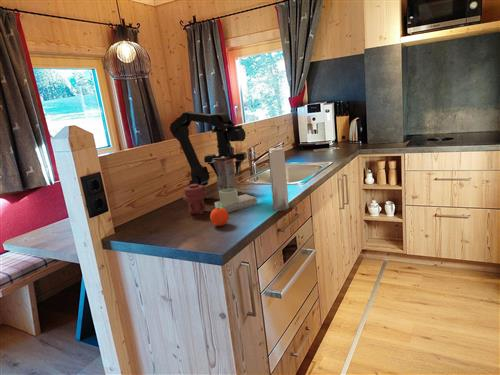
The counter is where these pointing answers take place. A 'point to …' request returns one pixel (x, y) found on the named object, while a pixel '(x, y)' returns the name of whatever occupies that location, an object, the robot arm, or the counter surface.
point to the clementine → (219, 216)
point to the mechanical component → (195, 198)
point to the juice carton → (226, 174)
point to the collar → (228, 196)
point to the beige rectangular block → (238, 203)
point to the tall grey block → (278, 179)
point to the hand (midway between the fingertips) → (227, 175)
